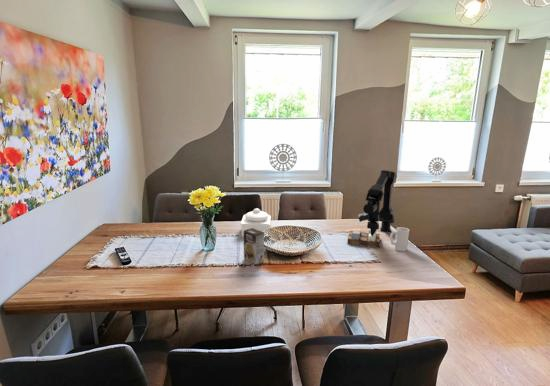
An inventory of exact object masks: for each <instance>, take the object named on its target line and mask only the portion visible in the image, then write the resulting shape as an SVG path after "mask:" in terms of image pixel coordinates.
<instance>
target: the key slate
mask: <svg viewBox="0 0 550 386" xmlns="http://www.w3.org/2000/svg"><path fill="white" fill-rule="evenodd" d="M352 231H353V230H352ZM360 232H361V230H360V231H353V234H352V239H356V240H359V238H360Z"/></svg>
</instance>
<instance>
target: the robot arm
mask: <svg viewBox="0 0 550 386" xmlns="http://www.w3.org/2000/svg"><path fill="white" fill-rule="evenodd" d="M397 176H398V175H397V173H396V171H392V170H385V169H383V170H380V174H379V176H378V179H377V180H376V181H375V184H373V185H371V187H369V189H368V191H367V194H366V197H365V201H367V202H366V204H364V206H363V213H358V215H357V217H358V221H359V222H360V223H361V222H364V221H367V225H366V228H367V230H369V229H370V231H371V236H373V235H374V233H375V231H377V230H380V232H384V233H392V230H391V229H392V227H391V224H394V223H395V217H394V216H395V215H394V213H393V211H394V210H393V209H392V207H391V206H392V205H391V203H392V192H393V185H394V184H395V182H396V179H397ZM382 200H383V201H382ZM381 202H383V203H382V208H381V209H380V207H381V206H380V205H381ZM379 222H381V226H380V224H379Z"/></svg>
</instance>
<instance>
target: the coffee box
mask: <svg viewBox="0 0 550 386" xmlns="http://www.w3.org/2000/svg"><path fill="white" fill-rule="evenodd" d="M264 249H265V237H264V232H262V231H259V230H256V229H254V228H251V229H247V230H244V237H243V259H244V260H245V261H247V262H249V263H252V264H254V265H257V264H259V263H262V262H264V261H265V250H264Z"/></svg>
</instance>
